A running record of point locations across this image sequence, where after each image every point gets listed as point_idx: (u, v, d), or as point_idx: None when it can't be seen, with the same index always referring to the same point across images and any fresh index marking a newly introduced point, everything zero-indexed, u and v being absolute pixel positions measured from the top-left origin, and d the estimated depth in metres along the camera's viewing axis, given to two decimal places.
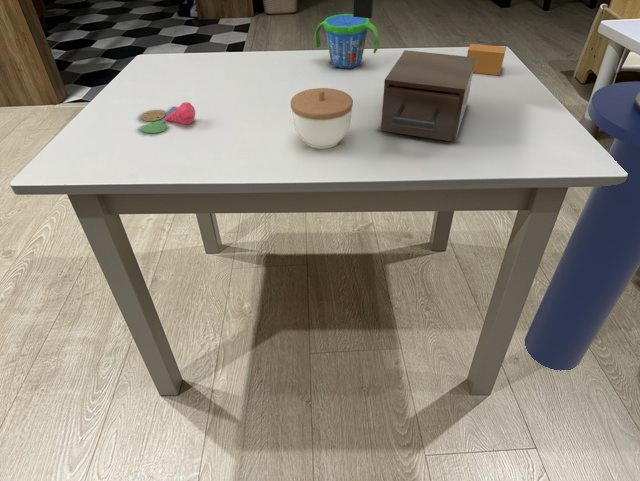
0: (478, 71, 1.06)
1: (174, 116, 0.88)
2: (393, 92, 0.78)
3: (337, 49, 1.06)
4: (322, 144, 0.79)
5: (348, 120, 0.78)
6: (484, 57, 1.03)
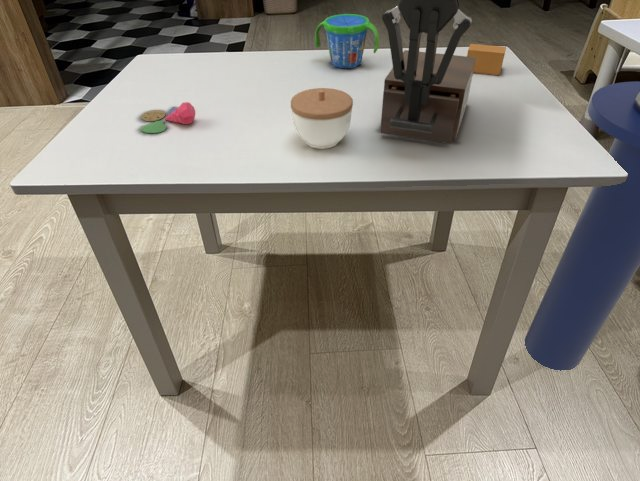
0: (478, 71, 1.06)
1: (174, 116, 0.88)
2: (392, 94, 0.77)
3: (337, 49, 1.06)
4: (322, 144, 0.79)
5: (348, 120, 0.78)
6: (484, 57, 1.03)
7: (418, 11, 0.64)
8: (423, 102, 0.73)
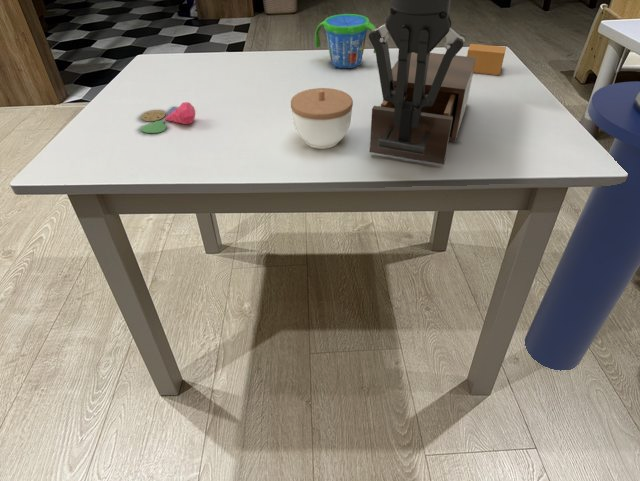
0: (478, 71, 1.06)
1: (174, 116, 0.88)
2: (381, 112, 0.72)
3: (337, 49, 1.06)
4: (322, 144, 0.79)
5: (348, 120, 0.78)
6: (484, 57, 1.03)
7: (407, 30, 0.59)
8: (414, 125, 0.68)
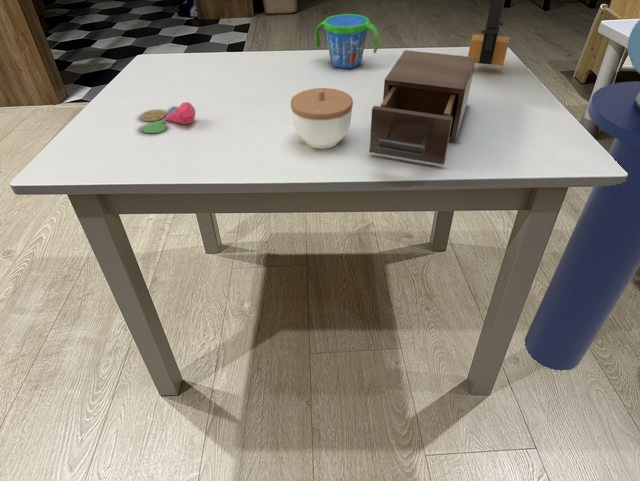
0: None
1: (174, 116, 0.88)
2: (381, 112, 0.72)
3: (337, 49, 1.06)
4: (322, 144, 0.79)
5: (348, 120, 0.78)
6: None
7: None
8: None
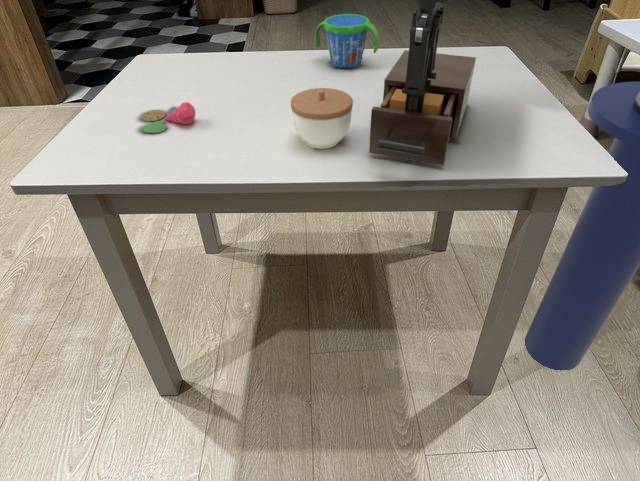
0: None
1: (174, 116, 0.88)
2: (380, 113, 0.72)
3: (337, 49, 1.06)
4: (322, 144, 0.79)
5: (348, 120, 0.78)
6: None
7: (440, 17, 0.65)
8: None
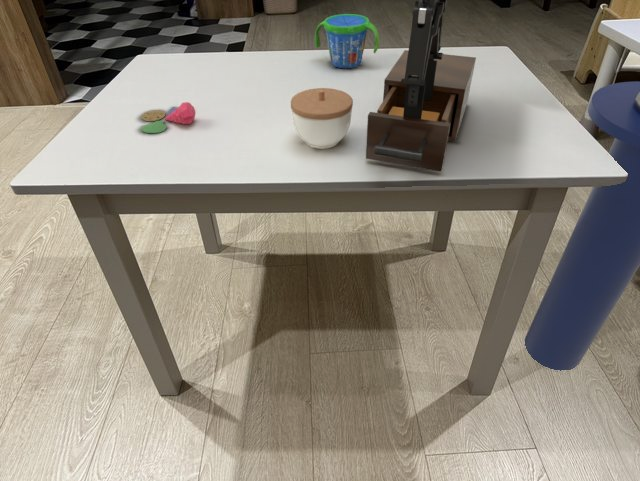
0: None
1: (174, 116, 0.88)
2: (377, 118, 0.71)
3: (337, 49, 1.06)
4: (322, 144, 0.79)
5: (348, 120, 0.78)
6: None
7: (443, 5, 0.63)
8: None
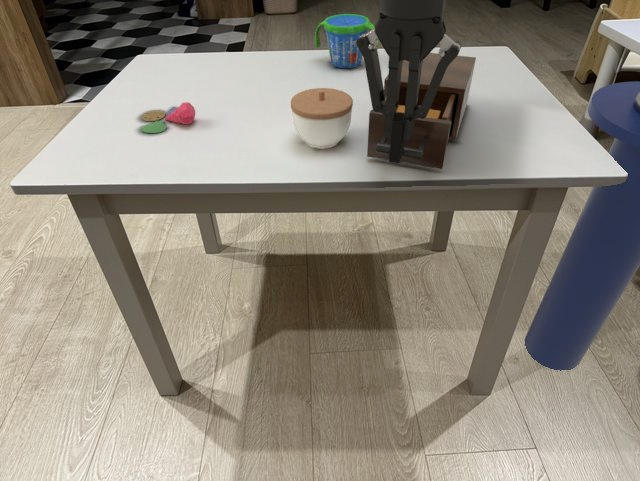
0: None
1: (174, 116, 0.88)
2: (378, 116, 0.71)
3: (337, 49, 1.06)
4: (322, 144, 0.79)
5: (348, 120, 0.78)
6: None
7: (397, 36, 0.54)
8: (406, 137, 0.63)
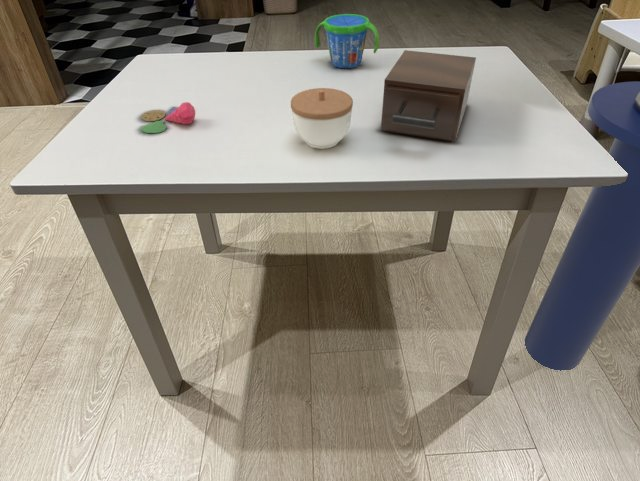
0: None
1: (174, 116, 0.88)
2: (394, 91, 0.79)
3: (337, 49, 1.06)
4: (322, 144, 0.79)
5: (348, 120, 0.78)
6: None
7: None
8: None
